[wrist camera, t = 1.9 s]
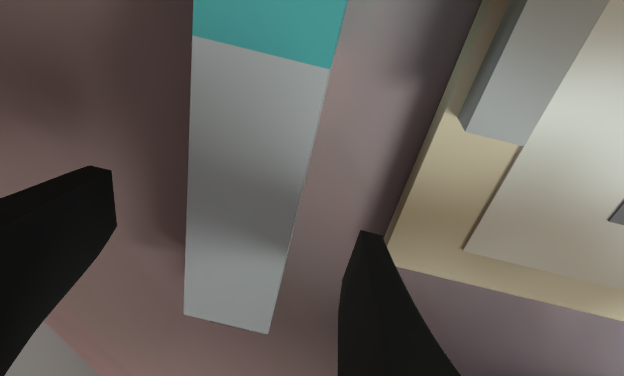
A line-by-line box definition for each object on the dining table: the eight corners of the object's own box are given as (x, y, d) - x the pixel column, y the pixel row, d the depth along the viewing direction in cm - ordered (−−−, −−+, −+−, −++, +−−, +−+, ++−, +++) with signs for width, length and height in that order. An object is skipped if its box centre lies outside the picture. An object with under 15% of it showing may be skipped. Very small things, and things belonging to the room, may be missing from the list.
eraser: (277, 297, 17) (263, 353, 15) (208, 280, 17) (183, 334, 15) (367, -83, 9) (368, -91, 7) (240, -115, 9) (198, -134, 7)
